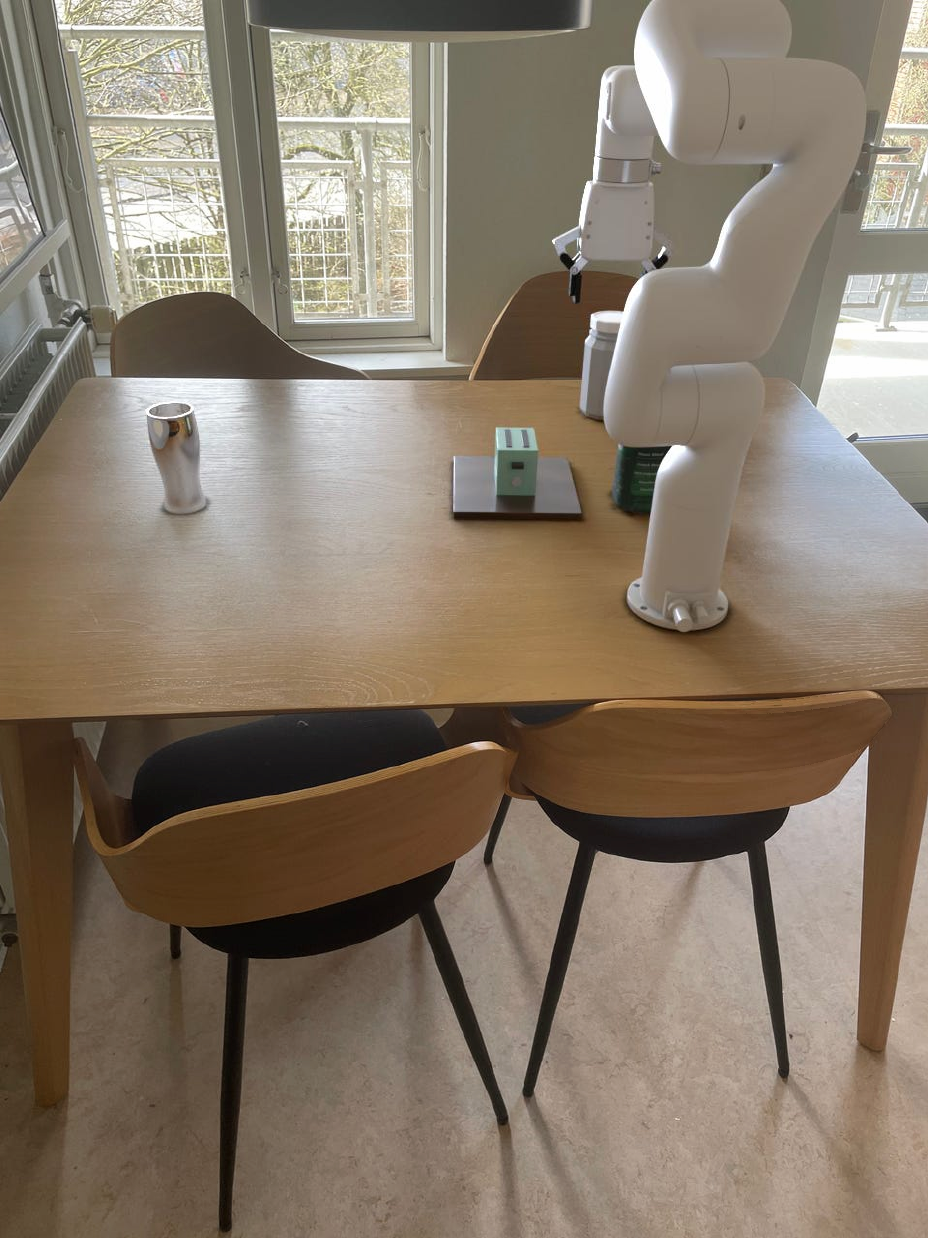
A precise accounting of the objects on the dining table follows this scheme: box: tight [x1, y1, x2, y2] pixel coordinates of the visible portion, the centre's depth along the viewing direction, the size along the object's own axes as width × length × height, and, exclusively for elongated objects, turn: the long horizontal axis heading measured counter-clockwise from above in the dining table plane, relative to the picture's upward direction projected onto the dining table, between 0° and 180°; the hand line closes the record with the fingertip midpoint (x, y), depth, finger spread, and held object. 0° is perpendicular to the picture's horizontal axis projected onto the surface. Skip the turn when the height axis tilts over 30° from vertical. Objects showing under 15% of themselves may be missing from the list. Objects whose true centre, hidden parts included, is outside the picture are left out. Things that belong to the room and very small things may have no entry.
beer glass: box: [145, 401, 207, 515], centre depth 136 cm, size 7×7×15 cm
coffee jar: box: [611, 443, 672, 515], centre depth 138 cm, size 10×8×19 cm
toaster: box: [494, 426, 539, 496], centre depth 143 cm, size 10×6×8 cm, turn 0°
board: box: [453, 455, 583, 521], centre depth 146 cm, size 21×19×1 cm
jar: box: [579, 310, 624, 421], centre depth 171 cm, size 10×10×18 cm
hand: (609, 301), depth 134 cm, fingers open, 9 cm apart
